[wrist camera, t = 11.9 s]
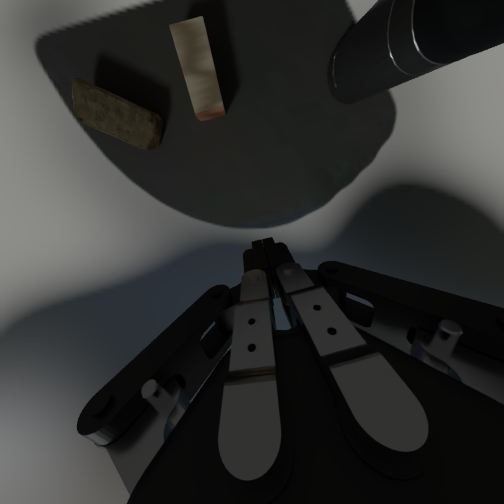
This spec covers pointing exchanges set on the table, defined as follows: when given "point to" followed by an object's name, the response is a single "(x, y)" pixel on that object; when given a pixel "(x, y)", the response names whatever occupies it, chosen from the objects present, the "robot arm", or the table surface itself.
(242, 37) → the table surface
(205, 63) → the maple block
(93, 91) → the stone block
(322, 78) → the table surface
